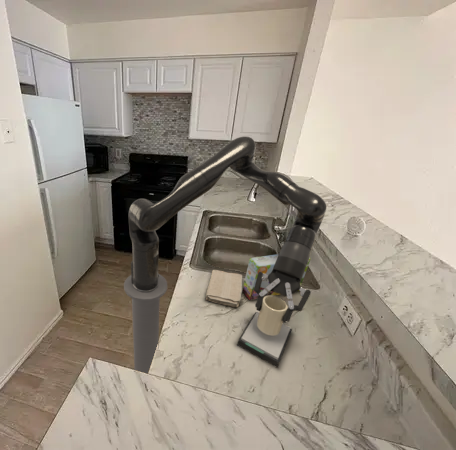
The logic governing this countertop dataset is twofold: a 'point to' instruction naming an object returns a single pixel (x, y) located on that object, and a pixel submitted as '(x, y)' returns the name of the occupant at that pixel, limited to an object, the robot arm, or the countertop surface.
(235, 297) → the washcloth
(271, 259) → the snack box
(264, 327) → the ceramic cup
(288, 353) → the countertop surface
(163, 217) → the robot arm
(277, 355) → the kitchen scale
